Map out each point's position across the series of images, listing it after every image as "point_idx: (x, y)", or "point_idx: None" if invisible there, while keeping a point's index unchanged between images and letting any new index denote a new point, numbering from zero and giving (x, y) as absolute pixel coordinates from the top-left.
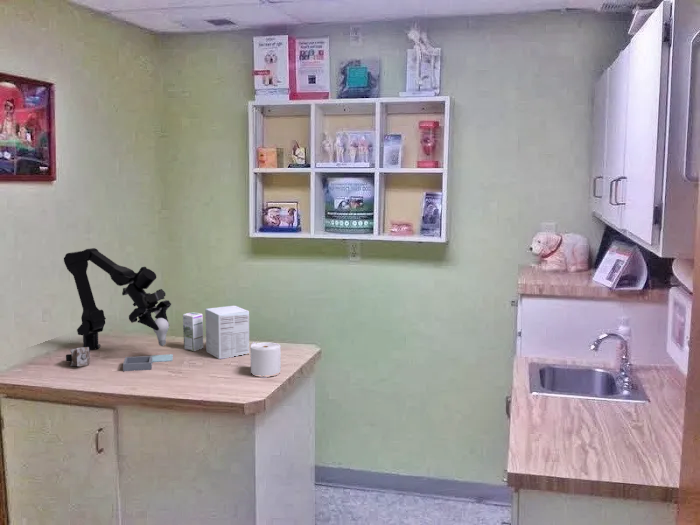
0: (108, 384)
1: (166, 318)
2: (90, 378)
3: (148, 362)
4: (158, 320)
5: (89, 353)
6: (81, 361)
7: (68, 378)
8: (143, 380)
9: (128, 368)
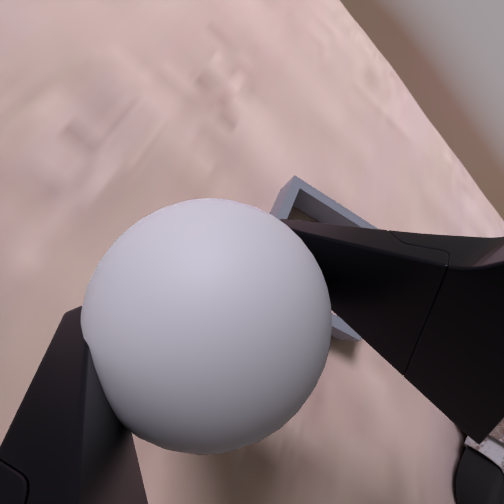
0: (416, 154)
1: (44, 412)
2: None
3: (301, 188)
4: (300, 255)
5: (490, 477)
6: None
7: None
8: (335, 111)
9: None
